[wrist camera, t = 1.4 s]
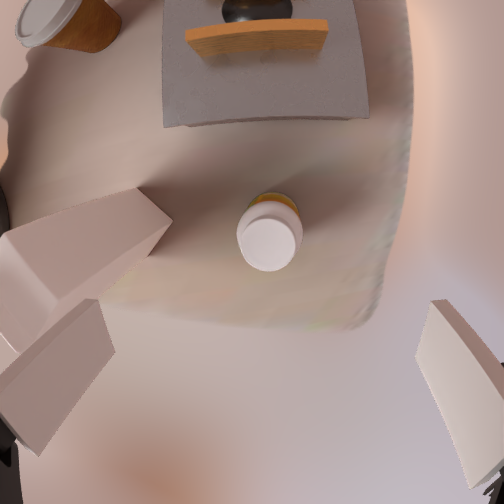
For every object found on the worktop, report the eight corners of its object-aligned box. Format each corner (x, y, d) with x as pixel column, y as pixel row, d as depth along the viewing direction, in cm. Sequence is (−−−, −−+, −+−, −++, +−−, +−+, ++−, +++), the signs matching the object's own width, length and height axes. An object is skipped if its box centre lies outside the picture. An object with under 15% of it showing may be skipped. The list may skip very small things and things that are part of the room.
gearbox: (186, 132, 27) (141, 123, 18) (185, -20, 20) (154, -62, 11) (352, 125, 25) (386, 111, 16) (329, -30, 18) (341, -79, 9)
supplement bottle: (253, 185, 28) (239, 199, 19) (305, 199, 28) (315, 219, 19) (241, 234, 30) (223, 270, 21) (290, 247, 30) (293, 288, 21)
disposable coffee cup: (65, 63, 25) (2, 49, 13) (91, 5, 21) (38, -23, 10) (114, 66, 25) (47, 41, 14) (144, 2, 22) (93, -40, 10)
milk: (147, 257, 32) (18, 377, 12) (112, 224, 31) (-34, 311, 11) (174, 219, 30) (24, 331, 10) (136, 185, 29) (-35, 249, 9)
